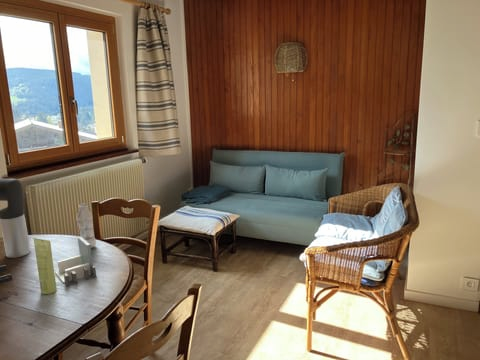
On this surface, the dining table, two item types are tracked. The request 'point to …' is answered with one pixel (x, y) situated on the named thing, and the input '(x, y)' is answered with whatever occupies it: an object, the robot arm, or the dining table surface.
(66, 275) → the clips
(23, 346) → the dining table surface
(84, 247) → the end holder
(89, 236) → the plastic bottle
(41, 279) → the tube
